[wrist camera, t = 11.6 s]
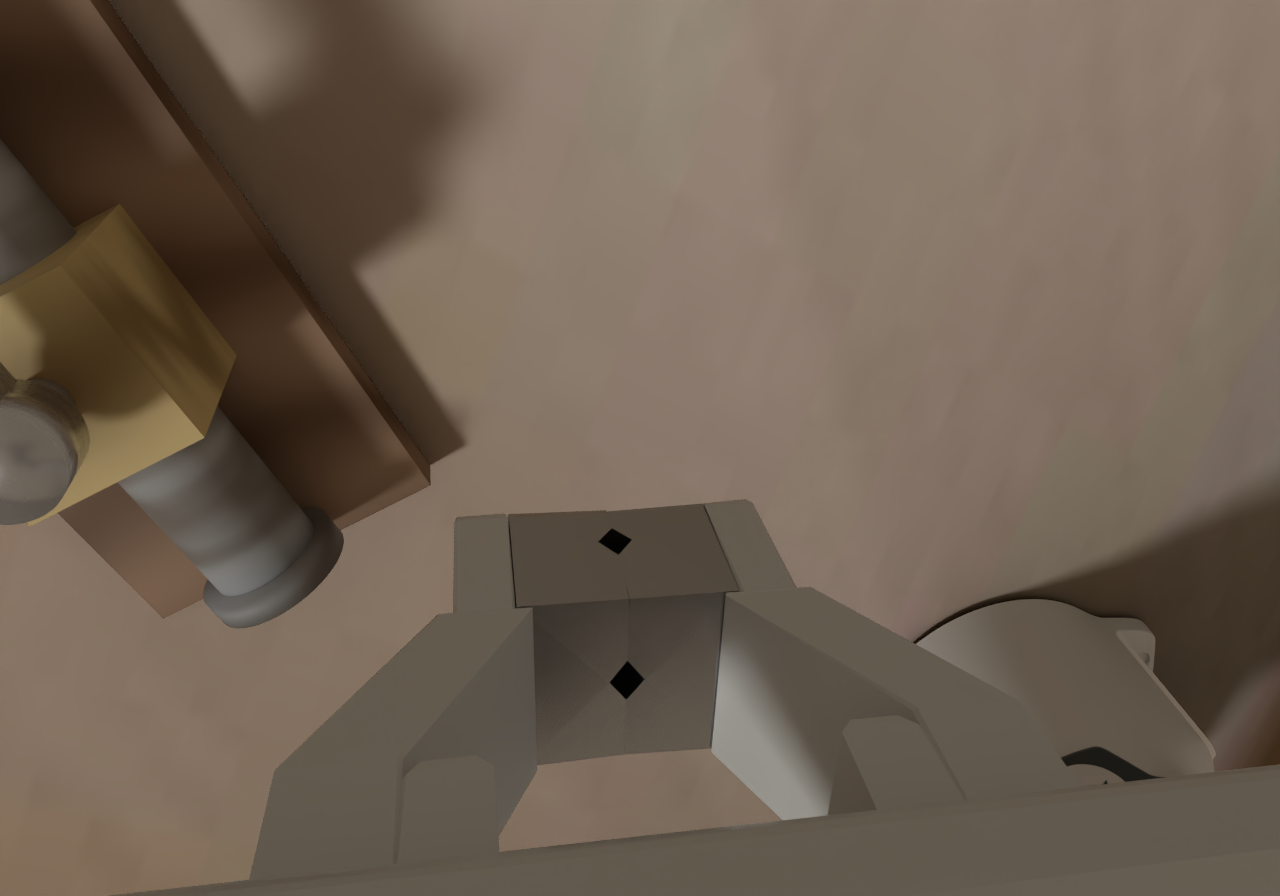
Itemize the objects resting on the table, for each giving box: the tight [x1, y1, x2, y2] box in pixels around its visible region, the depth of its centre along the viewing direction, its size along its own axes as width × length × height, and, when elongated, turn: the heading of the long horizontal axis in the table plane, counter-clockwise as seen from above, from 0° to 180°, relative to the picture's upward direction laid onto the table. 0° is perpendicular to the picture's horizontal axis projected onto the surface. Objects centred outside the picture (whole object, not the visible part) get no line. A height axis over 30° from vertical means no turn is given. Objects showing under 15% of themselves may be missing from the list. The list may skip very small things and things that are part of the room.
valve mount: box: [0, 0, 431, 628], centre depth 30 cm, size 22×12×9 cm, turn 24°
